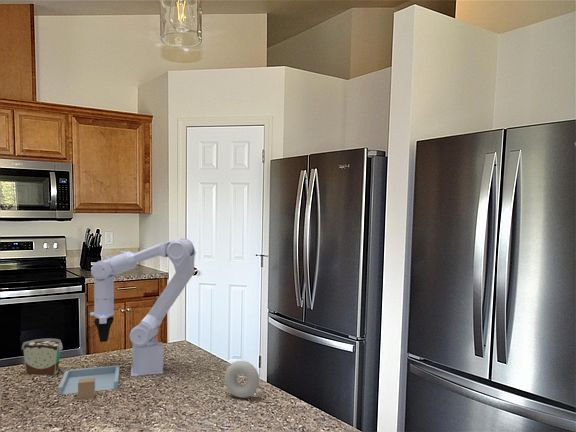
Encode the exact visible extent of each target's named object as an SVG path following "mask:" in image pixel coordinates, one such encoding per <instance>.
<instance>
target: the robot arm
mask: <svg viewBox="0 0 576 432" xmlns="http://www.w3.org/2000/svg"><path fill="white" fill-rule="evenodd" d="M196 252H197V251H196V248H195V246H194V244H193V242H192V241H191V240H190V239H188V238H180V239H178V240H177V239H176V240H171V241H166V242H161V243H157V244H155V245H153V246H150V247H148V248H145V249H143V250H140V251H137V252H135V253H134V252H133V251H130V250H128V251H126V250H122V251H120V252H119V254H117V255H114V256H107V257H106V259H105V260H104V259H103V260H98V261H97V262H94V263H93V265H92V266H91V268H90V272H91V275H92V278H93V279H94V284H93V285H94V287H93V293H94V294H93V297H94V300H93V302H94V303H93V304H94V305H93V309H94V310H93V311H92V312H90V313H89V315H90V317H92V316H93V317H95V318H94V319H93V323H94V325H95V327H96V328H97V329H96V330H97V331H98V332H97V334H98V338H99V339H98V340H99V342H100V343H104V342H108V340H109V335H110V330H111V327H112V325H113V322H114V320H115V319H114V315H115V310H114V308H115V307H114V306H115V303H114V302H115V298H114V297H115V296H114V295H115V292H114V291H115V285H114V284H115V281H114V280H115V278H114V277H115V275H116V276H117V275H119V274H122V273H125V272H128V271H131V270H134V269H136V267H137V265H138V263H140V262H144V261H147V260H150V259H153V258H156V257H159V256H160V257H162V258H167V257H168V259H169V260H170V262H171V263H172V264H173V267H174V271H175V273H174V275H173V276H172V277H171V279H170V281H169V282H168V283H167V285H166V287H165V288H164V289H163V290H162V292H161V293H160V295H159V297H158V298H157V300H156V301H155V303H154V304H153V305H152V307H151V309H150V310H149V311H148V313H147V314H146V315H145V316H144V317H143V319H142V320H141V321H140V322H139V324H138V325H136V326H134V327H133V328H131V329H130V332H129V339H130V342H131V344H132V363H131V364H132V365H131V367H130V369H131V370H130V376H131V377H137V376H146V375H154V374H164V365H165V359H164V344H163V342H161V341H160V342H159V341H157V338H156V336H158V334H159V332H160V326H161V324H162V323H163V320H164V318H165V316H166V314H168V313H169V310H170V309H171V307H172V306H173V305H174V304H175V302H176V301H177V298H178V297H179V296H180V294H181V293H182V291H183V290H184V289H185V287H186V286H187V285H188V283H189V281H190V280H191V279H192V278H193V275H194V273H195V258H196V257H195V256H196Z"/></svg>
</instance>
